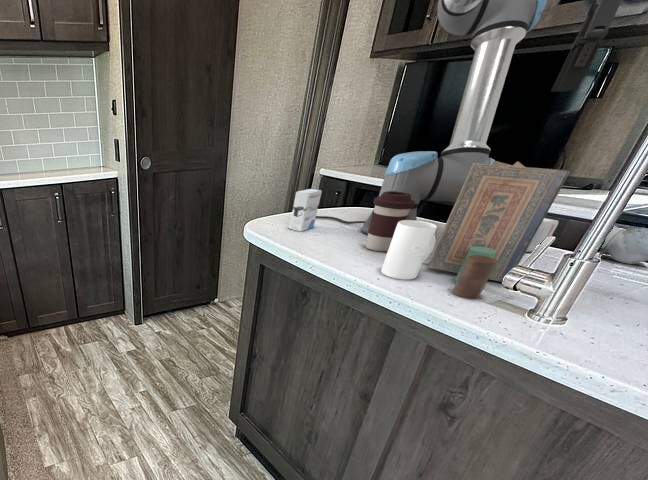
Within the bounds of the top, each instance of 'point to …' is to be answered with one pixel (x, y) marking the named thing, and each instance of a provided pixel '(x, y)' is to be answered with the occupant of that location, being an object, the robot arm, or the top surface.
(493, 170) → the book
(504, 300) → the top surface
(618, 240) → the figurine
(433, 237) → the mug
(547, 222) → the ink box
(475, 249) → the sage peg
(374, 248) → the coffee cup
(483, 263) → the walnut peg
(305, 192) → the ink box
